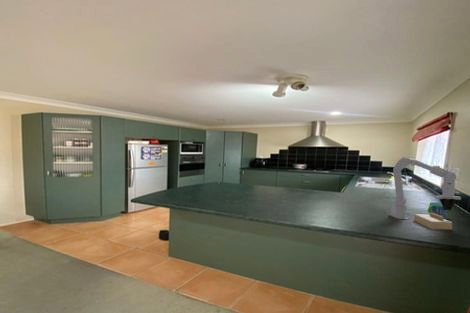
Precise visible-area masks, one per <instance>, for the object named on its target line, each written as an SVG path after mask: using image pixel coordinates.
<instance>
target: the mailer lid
mask: <svg viewBox="0 0 470 313" xmlns="http://www.w3.org/2000/svg"><path fill="white" fill-rule="evenodd" d="M414 215H416V216H418V217H421V218H423V219H425V220H428V221H430V222H436V223H452V224H453V221H451V220H447V219H446V218H445V219H444V217H442V216H439V215H437V214H434V213H428V214H427V213H425V214H423V213H422V214H421V213H413V216H414Z"/></svg>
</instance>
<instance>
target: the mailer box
mask: <svg viewBox="0 0 470 313" xmlns="http://www.w3.org/2000/svg"><path fill="white" fill-rule="evenodd" d="M413 221H414V222H416V223H418V224H420V225H423V226H425V227H426V228H427V227H428V228H429V229H432V230H453V222H452V223H436V222H430V221H428V220H425V219H423V218H421V217H418V216H416V215H414V214H413Z"/></svg>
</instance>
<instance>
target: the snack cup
mask: <svg viewBox="0 0 470 313" xmlns="http://www.w3.org/2000/svg"><path fill="white" fill-rule="evenodd" d="M427 208H428V209H427V212H428V214H430V213H434V214H437V215H439V216H442V217H444V219H445V220H446V217H447V214H450V212H451V210H443V206H442V203H441V202H429V206H428V207H427Z"/></svg>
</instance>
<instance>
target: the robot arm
mask: <svg viewBox="0 0 470 313" xmlns="http://www.w3.org/2000/svg"><path fill="white" fill-rule="evenodd" d="M409 166H416V167H420V168H422V169H424V170H427V171H429V173H430V174H431V175H434V176H436V177H439V178H443V182H442V194H441V195H434V198H435V199H436V200H439V201H440V203H442V206H443V210H450V211H452V208H453V207H454V205H455V204H456V203H457V200H458V201H460V200H461V199H462V197H461V196H457V195H455V189H456V180H457V175H456V173H455V172H453V171H451V170H449V169H445V168H442V167H441V166H440V165H430V164H427V163H424V162H422V161H420V160H418V159H414V158H410V157H406V156H404V157H402V158H400V159H399V160H398V161H397V162H396V163H395V165H394V167H393V169H392V171H393V180H394V188H395V189H394V190H395V198H394V203H393V204H391V207H390V214H389V215H390V217H393V218H395V219H398V220H399V219H400V220H409V218H408V217H407V216H406V215H407V203H406V202H407V199H406V197H405V193H404V186H403V178H402V177H403V176H402V171H403V169H405V168H406V167H409Z"/></svg>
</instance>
